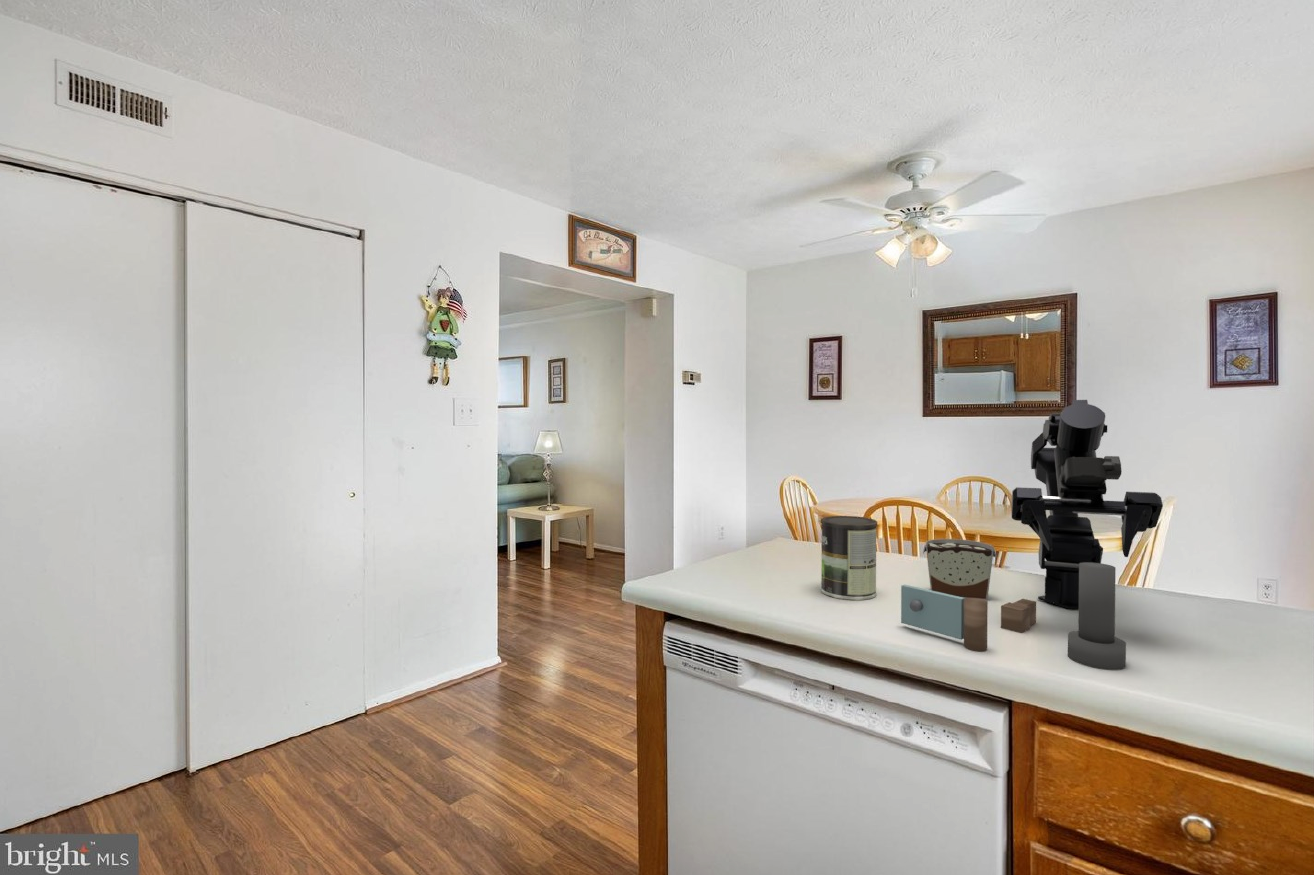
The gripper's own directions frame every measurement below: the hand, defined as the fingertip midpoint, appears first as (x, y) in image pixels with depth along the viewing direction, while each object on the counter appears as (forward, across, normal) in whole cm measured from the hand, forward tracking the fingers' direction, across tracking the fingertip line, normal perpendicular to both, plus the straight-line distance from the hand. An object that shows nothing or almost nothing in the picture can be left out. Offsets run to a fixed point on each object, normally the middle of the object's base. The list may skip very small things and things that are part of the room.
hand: (1087, 552), depth 88 cm
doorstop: (+15, 0, +4) cm, 15 cm away
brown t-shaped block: (+11, -11, +8) cm, 17 cm away
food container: (-4, -18, +23) cm, 30 cm away
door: (+14, -21, +4) cm, 25 cm away
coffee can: (+2, -36, +17) cm, 40 cm away
